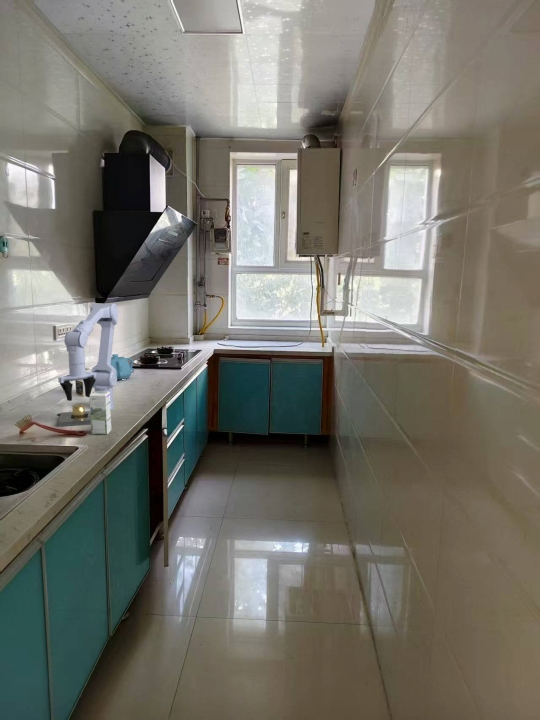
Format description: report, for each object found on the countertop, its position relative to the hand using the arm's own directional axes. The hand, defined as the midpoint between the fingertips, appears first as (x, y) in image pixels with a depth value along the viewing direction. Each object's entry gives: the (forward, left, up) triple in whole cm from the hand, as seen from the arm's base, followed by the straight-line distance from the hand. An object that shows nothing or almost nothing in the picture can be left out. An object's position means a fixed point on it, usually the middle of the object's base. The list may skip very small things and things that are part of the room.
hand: (78, 398), depth 194 cm
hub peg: (0, 0, -9) cm, 9 cm away
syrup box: (+17, +8, -9) cm, 21 cm away
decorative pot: (-80, +15, -9) cm, 82 cm away
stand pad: (-10, -6, -9) cm, 15 cm away
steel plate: (0, 0, -9) cm, 9 cm away
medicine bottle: (-47, +1, -9) cm, 48 cm away
